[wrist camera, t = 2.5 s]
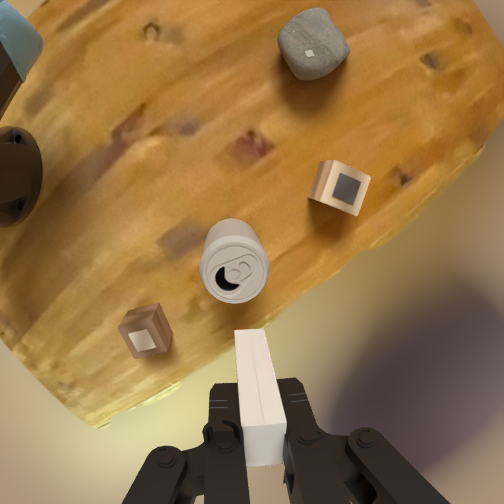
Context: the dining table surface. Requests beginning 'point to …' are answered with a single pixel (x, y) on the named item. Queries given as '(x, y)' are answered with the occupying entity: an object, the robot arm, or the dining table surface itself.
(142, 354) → the walnut block
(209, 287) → the beverage can
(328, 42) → the stone
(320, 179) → the beech block
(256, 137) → the dining table surface
